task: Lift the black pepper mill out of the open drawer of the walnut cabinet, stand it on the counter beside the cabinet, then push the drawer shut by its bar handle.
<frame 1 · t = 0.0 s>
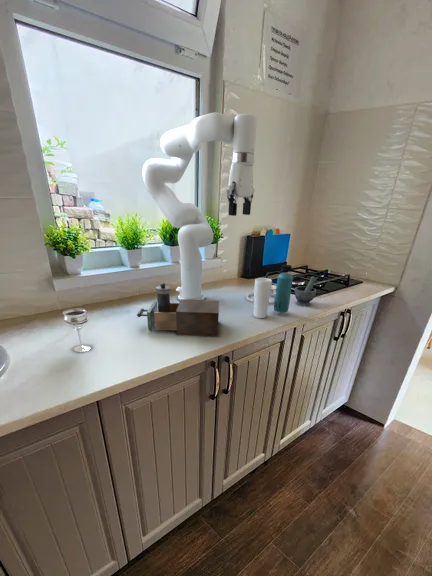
hand: (239, 215, 121), 37 cm above the countertop, tool pointing down, fingers open, 9 cm apart
drawer: (163, 315, 118), point 4 cm above the countertop, slide at 9.0 cm, touching pepper mill
pepper mill: (164, 321, 119), point 2 cm above the countertop, touching drawer
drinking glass: (259, 316, 134), on the countertop
mortar and pestle: (303, 304, 152), on the countertop
cabinet: (198, 328, 120), on the countertop
hand towel holder: (265, 298, 157), on the countertop
wineglass: (82, 349, 102), on the countertop
beverage bottle: (280, 314, 138), on the countertop
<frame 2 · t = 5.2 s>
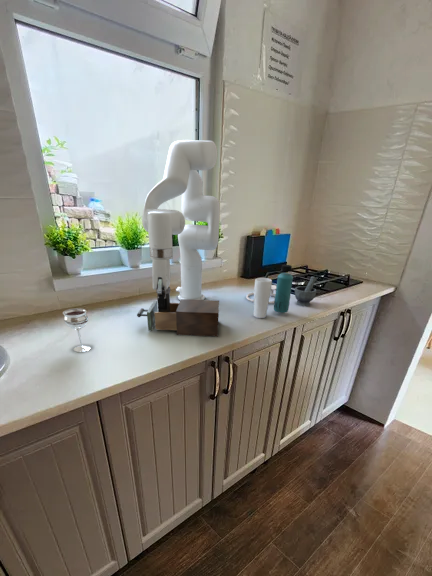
hand: (164, 306, 116), 8 cm above the countertop, tool pointing down, fingers closed on pepper mill, 4 cm apart
pepper mill: (164, 321, 119), point 2 cm above the countertop, touching drawer, gripper
everything else where it was.
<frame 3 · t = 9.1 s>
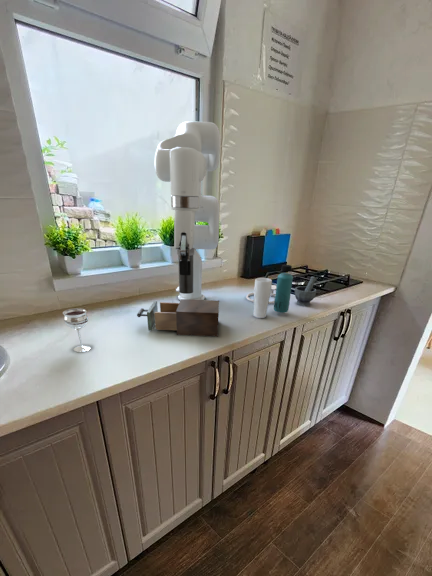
hand: (186, 272, 97), 23 cm above the countertop, tool pointing down, fingers closed on pepper mill, 4 cm apart
drawer: (163, 315, 118), point 4 cm above the countertop, slide at 9.0 cm
pepper mill: (186, 291, 100), point 17 cm above the countertop, touching gripper
everything else where it was.
when the fingers open (6 cm above the countertop, at t = 13.2 s): pepper mill stays where it is, on the countertop.
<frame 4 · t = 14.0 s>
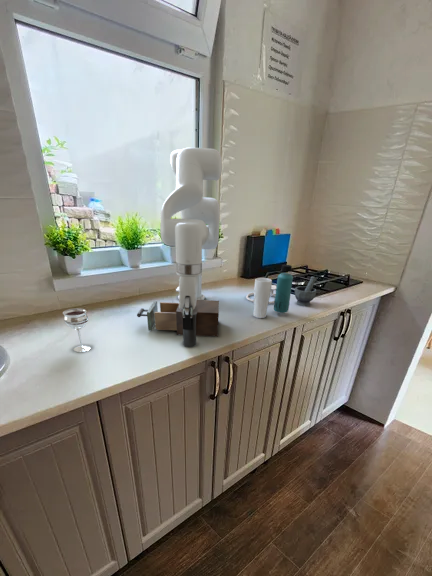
hand: (189, 323, 104), 7 cm above the countertop, tool pointing down, fingers open, 9 cm apart
pepper mill: (189, 344, 108), on the countertop
everything else where it was.
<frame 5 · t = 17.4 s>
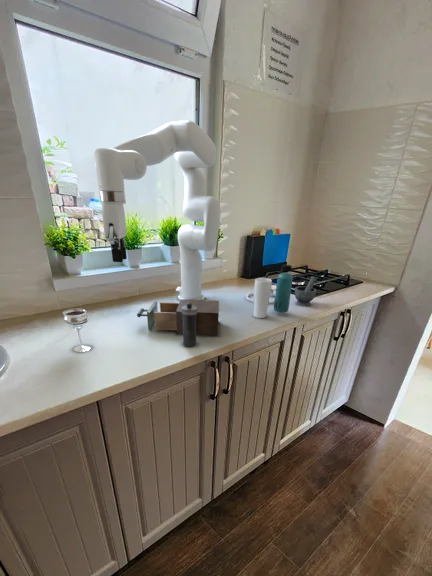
hand: (119, 259, 108), 23 cm above the countertop, tool pointing down, fingers open, 4 cm apart
nothing on the countertop moved.
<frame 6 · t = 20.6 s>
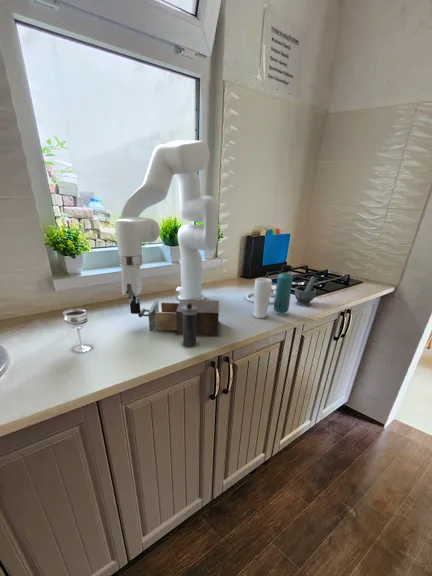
hand: (135, 312, 118), 5 cm above the countertop, tool pointing down, fingers closed
drawer: (164, 315, 118), point 4 cm above the countertop, slide at 8.5 cm, touching gripper
everything else where it was.
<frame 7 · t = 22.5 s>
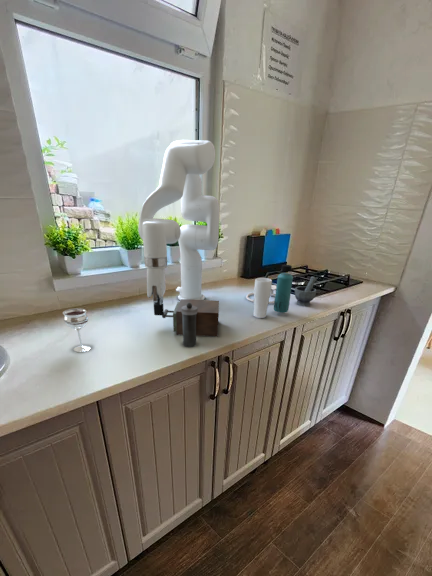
hand: (159, 314, 118), 5 cm above the countertop, tool pointing down, fingers closed
drawer: (187, 316, 118), point 4 cm above the countertop, slide at 0.0 cm, touching cabinet, gripper
everything else where it was.
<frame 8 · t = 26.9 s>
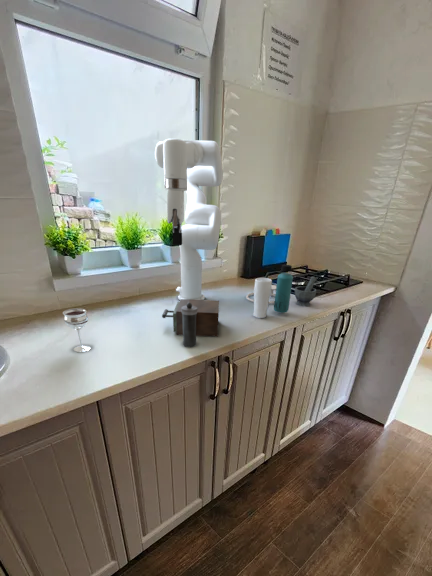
hand: (177, 244, 117), 27 cm above the countertop, tool pointing down, fingers closed
drawer: (187, 316, 118), point 4 cm above the countertop, slide at 0.0 cm, touching cabinet
everything else where it was.
at the end: pepper mill 0.1 cm from the target spot, on the countertop; pepper mill tilted 0°; drawer slide at 0.0 cm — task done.
